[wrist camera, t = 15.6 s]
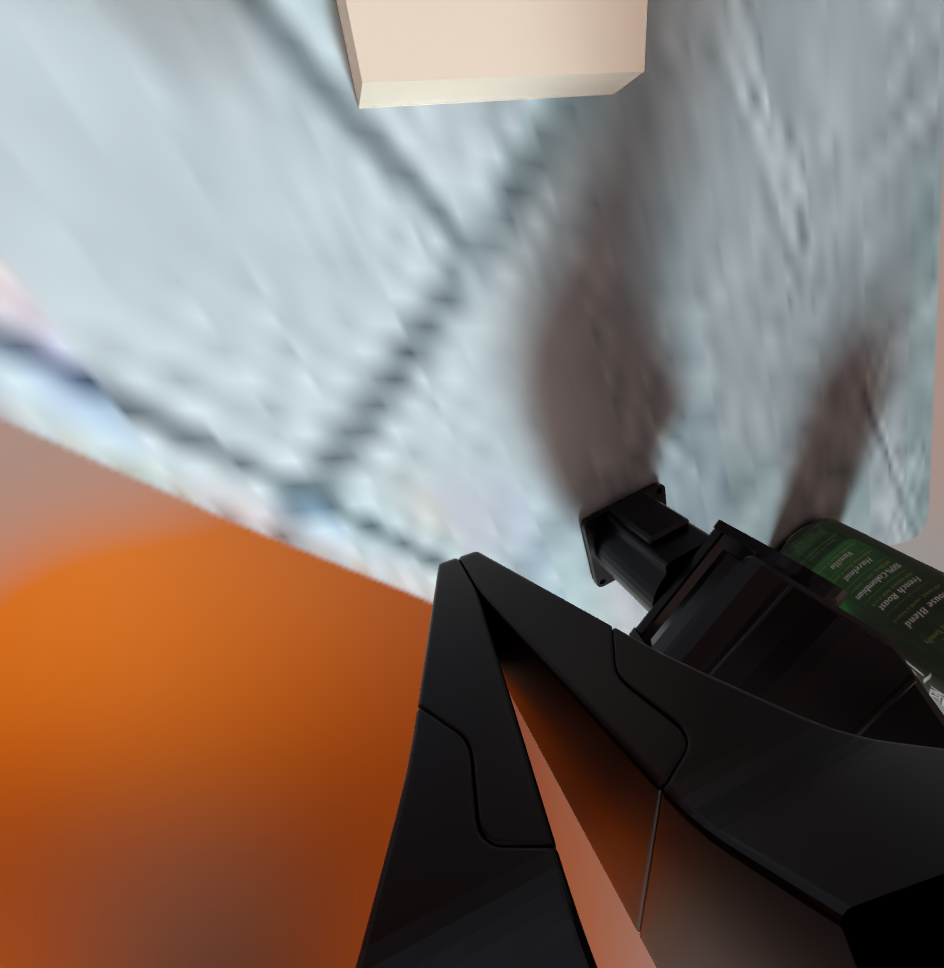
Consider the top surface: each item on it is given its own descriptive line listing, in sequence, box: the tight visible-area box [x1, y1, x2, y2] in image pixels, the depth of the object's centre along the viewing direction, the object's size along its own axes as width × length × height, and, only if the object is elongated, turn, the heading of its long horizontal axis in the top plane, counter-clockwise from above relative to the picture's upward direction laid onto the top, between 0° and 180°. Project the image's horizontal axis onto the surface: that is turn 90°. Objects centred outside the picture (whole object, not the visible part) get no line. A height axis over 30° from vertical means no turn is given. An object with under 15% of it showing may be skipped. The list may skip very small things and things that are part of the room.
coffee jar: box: [779, 518, 944, 707], centre depth 29 cm, size 10×8×19 cm
